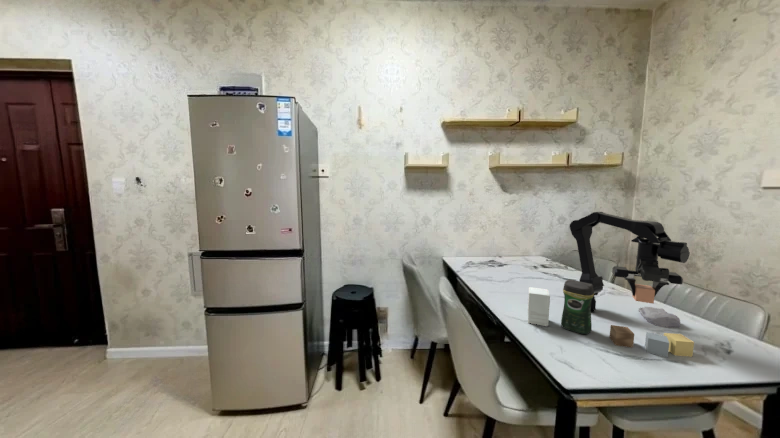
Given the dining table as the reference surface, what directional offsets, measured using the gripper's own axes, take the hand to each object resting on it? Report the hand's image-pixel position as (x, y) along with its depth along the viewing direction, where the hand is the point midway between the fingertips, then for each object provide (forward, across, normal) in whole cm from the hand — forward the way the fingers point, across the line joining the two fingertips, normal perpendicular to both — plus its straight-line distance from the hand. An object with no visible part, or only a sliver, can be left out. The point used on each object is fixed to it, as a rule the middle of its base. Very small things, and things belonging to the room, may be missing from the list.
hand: (642, 297), depth 107 cm
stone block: (+14, +8, +14) cm, 21 cm away
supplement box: (+13, -34, -10) cm, 38 cm away
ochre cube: (+13, +7, -12) cm, 19 cm away
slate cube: (+13, +1, -15) cm, 20 cm away
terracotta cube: (+1, 0, 0) cm, 1 cm away
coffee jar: (+13, -21, -10) cm, 27 cm away
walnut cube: (+13, -8, -14) cm, 21 cm away
